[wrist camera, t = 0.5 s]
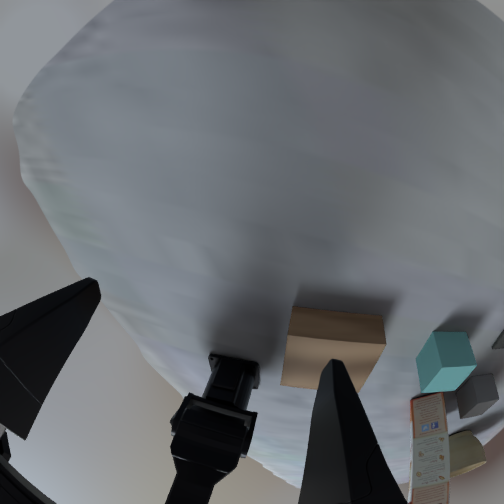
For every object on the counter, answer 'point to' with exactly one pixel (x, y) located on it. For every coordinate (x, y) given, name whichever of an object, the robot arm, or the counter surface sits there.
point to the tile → (499, 342)
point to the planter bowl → (465, 453)
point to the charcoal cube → (477, 396)
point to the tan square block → (331, 345)
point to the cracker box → (429, 451)
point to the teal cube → (445, 361)
